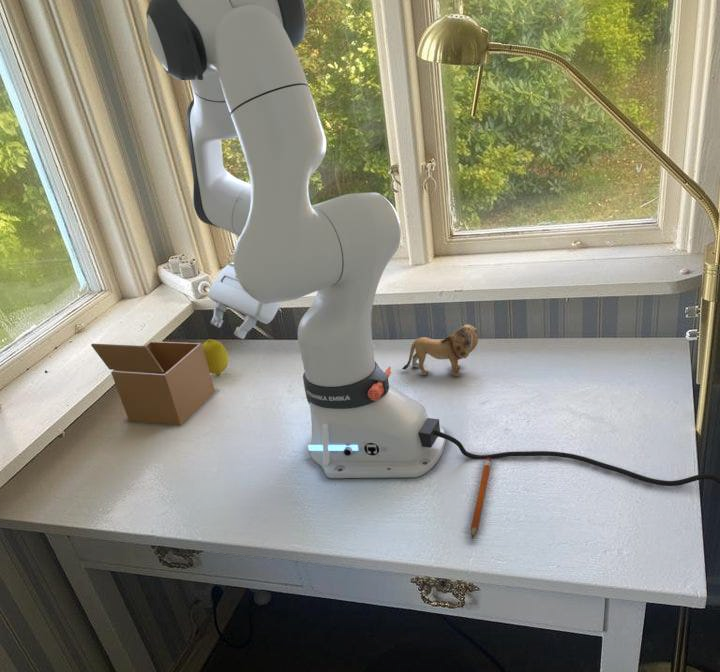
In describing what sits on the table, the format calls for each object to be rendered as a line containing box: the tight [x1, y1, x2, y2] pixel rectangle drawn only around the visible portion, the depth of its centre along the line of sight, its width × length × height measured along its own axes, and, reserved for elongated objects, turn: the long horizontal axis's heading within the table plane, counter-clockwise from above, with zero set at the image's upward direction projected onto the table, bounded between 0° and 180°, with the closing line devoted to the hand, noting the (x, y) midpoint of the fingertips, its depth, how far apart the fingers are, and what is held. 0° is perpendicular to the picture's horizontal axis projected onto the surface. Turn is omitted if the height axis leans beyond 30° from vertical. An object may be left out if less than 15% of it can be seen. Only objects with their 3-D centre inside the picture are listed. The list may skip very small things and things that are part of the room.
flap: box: [90, 343, 164, 373], centre depth 128 cm, size 12×6×1 cm
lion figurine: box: [401, 324, 479, 377], centre depth 136 cm, size 15×5×9 cm, turn 79°
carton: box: [110, 340, 216, 426], centre depth 138 cm, size 12×13×10 cm
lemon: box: [202, 338, 229, 376], centre depth 148 cm, size 6×6×8 cm
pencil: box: [470, 458, 492, 539], centre depth 105 cm, size 1×19×1 cm, turn 165°
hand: (226, 331), depth 147 cm, fingers open, 8 cm apart
